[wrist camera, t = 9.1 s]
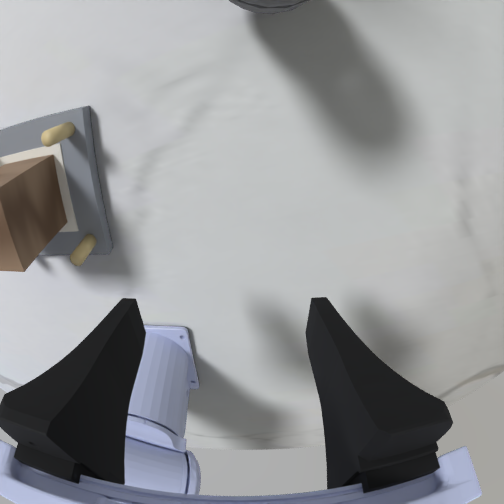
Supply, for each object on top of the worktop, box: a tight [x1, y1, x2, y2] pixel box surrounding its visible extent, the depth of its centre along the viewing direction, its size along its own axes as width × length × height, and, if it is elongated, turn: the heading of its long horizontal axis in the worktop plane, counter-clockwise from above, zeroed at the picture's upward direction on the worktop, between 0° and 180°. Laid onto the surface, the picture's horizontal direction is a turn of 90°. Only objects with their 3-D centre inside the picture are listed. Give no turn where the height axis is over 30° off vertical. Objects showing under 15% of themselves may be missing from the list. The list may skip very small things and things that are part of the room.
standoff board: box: [0, 106, 113, 266], centre depth 17 cm, size 10×10×4 cm
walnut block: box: [0, 154, 67, 272], centre depth 15 cm, size 5×5×6 cm
